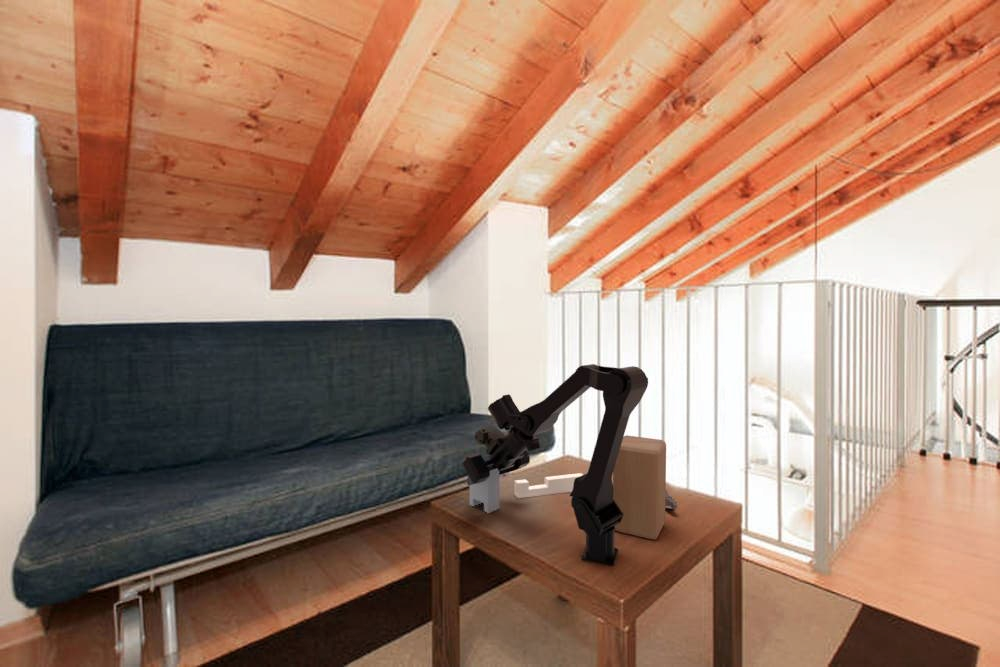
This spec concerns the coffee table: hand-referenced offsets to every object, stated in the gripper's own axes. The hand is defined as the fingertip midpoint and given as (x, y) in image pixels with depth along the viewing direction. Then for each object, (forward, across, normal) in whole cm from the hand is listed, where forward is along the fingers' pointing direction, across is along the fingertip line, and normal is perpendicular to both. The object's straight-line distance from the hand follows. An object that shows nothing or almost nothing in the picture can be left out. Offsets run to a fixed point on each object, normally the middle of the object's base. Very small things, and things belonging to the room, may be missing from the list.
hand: (481, 479), depth 118 cm
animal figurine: (-19, -32, +29) cm, 47 cm away
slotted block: (+4, 0, +6) cm, 7 cm away
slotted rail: (0, -20, +10) cm, 22 cm away
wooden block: (-20, -17, +30) cm, 39 cm away
